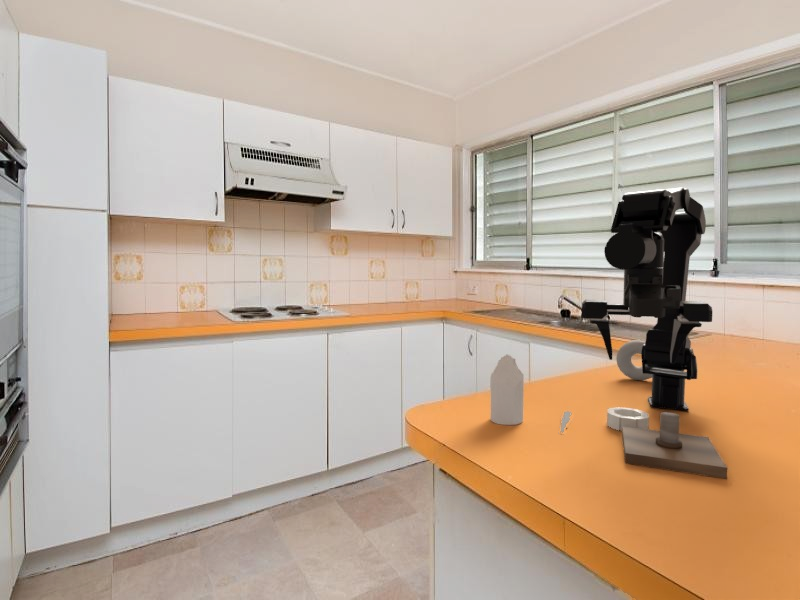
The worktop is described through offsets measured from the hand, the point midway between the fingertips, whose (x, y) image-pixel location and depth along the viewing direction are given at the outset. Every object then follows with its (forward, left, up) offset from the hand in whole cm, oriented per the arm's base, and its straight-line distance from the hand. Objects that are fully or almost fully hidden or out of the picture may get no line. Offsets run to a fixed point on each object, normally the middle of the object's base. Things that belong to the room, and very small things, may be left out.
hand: (640, 361), depth 77 cm
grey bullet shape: (+3, -22, -12) cm, 25 cm away
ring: (-2, -2, -12) cm, 12 cm away
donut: (-40, +2, -12) cm, 42 cm away
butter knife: (+7, -12, -13) cm, 18 cm away
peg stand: (+9, +3, -12) cm, 16 cm away
